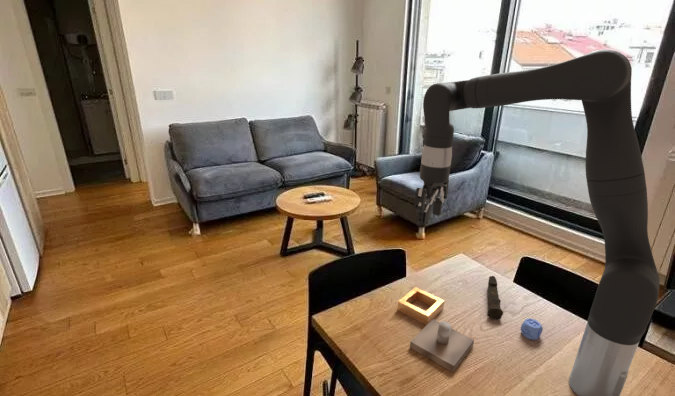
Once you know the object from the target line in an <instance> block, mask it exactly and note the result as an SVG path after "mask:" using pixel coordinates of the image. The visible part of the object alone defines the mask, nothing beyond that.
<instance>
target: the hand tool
mask: <svg viewBox="0 0 675 396" xmlns="http://www.w3.org/2000/svg"><path fill="white" fill-rule="evenodd" d="M487 283H488V284H487V291H486V292H487V301H488V302H487V303H488V304H487V305H488V310H487V317H488V318H490V319H492V320H501V319H502V316H503V315H504V311H503V310H502V308H501V302H502V301H501V299H500V297H499V290H498V280H497V278H496V277H495V276H494V275H492V276H491V275H490V276H489V277H488V282H487Z"/></svg>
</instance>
